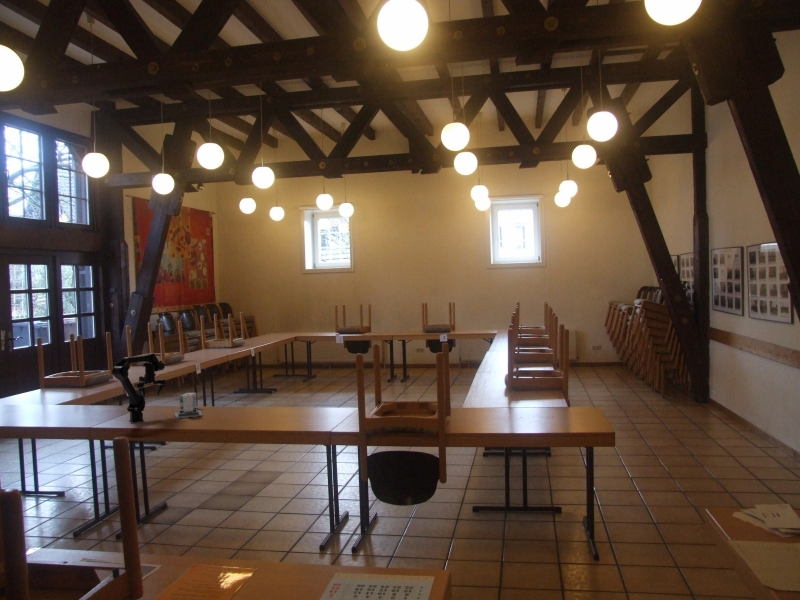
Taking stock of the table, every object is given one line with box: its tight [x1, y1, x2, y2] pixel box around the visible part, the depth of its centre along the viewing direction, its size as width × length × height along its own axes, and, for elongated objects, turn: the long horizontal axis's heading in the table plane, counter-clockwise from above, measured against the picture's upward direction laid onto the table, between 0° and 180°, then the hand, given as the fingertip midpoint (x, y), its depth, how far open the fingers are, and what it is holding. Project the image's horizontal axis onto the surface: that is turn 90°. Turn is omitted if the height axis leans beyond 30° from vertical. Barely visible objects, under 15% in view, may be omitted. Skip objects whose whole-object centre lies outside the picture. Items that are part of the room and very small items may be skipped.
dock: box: [174, 408, 203, 420], centre depth 377 cm, size 16×16×3 cm
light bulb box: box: [179, 392, 198, 411], centre depth 397 cm, size 11×7×11 cm, turn 168°
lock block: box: [182, 394, 193, 413], centre depth 377 cm, size 6×6×12 cm
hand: (150, 396), depth 377 cm, fingers open, 9 cm apart
